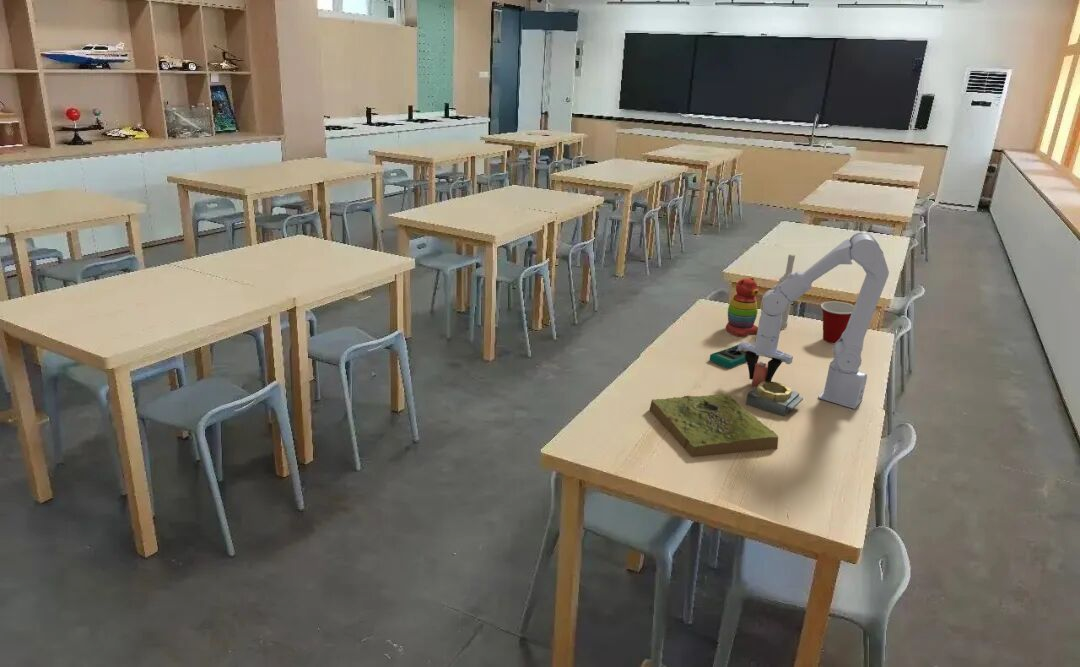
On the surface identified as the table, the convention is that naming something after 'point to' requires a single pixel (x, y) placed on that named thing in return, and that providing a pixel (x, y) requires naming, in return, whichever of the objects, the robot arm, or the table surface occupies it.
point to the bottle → (783, 278)
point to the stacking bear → (743, 309)
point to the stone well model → (773, 398)
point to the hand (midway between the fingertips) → (759, 380)
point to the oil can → (759, 373)
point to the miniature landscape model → (712, 425)
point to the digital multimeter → (729, 357)
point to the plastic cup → (835, 319)
